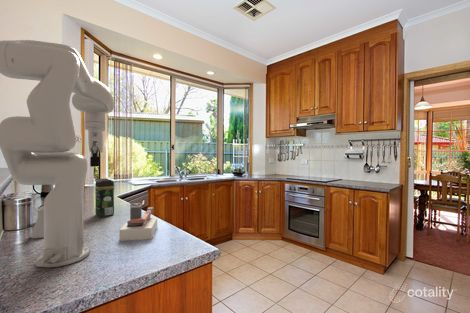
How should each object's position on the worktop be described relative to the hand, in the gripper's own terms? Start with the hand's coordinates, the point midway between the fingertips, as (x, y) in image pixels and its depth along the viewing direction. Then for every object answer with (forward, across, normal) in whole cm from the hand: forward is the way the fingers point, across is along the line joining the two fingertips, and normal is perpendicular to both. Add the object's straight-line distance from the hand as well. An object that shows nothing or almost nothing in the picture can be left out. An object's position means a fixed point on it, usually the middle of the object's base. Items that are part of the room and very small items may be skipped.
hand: (95, 165), depth 99 cm
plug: (+26, -21, -14) cm, 36 cm away
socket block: (+26, -20, -16) cm, 36 cm away
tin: (+26, +14, +16) cm, 34 cm away
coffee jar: (+26, +18, -4) cm, 32 cm away
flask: (+26, -5, +17) cm, 31 cm away
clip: (+20, -17, -17) cm, 32 cm away
